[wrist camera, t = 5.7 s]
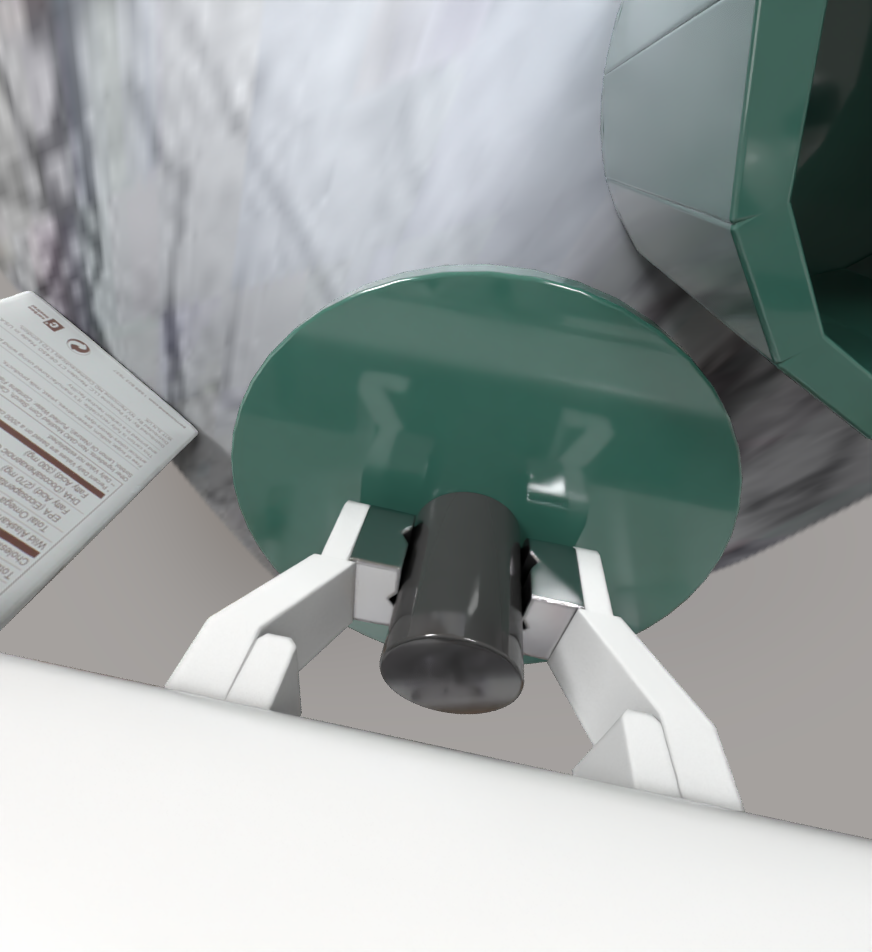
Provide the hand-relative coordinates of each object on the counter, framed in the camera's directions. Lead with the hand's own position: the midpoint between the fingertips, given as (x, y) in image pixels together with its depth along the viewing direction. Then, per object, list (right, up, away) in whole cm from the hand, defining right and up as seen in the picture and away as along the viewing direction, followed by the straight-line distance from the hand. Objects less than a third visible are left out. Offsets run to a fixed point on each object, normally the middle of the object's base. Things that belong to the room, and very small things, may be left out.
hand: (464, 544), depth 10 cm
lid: (0, +1, +1) cm, 1 cm away
